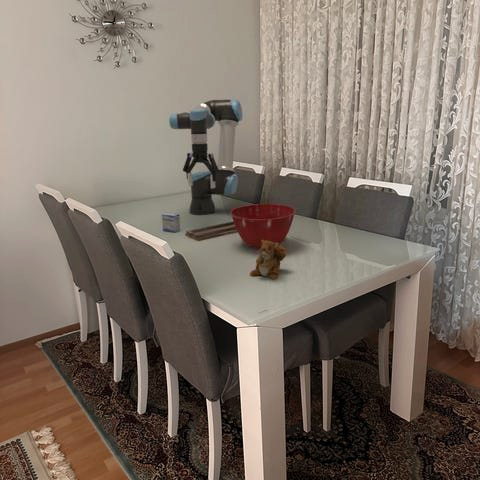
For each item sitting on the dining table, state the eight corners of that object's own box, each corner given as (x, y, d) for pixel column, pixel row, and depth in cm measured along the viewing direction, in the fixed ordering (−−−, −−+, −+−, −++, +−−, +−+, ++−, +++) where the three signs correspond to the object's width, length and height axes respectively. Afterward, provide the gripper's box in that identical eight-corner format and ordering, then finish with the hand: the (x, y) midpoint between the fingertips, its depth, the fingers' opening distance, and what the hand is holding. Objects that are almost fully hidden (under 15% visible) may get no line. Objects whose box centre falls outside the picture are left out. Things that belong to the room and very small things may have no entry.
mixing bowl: (241, 257, 187) (240, 221, 182) (224, 238, 213) (223, 206, 208) (305, 250, 194) (305, 215, 189) (281, 232, 220) (281, 201, 215)
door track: (185, 235, 219) (184, 230, 219) (235, 224, 236) (235, 219, 235) (198, 241, 210) (197, 235, 209) (249, 229, 227) (249, 224, 226)
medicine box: (162, 231, 228) (161, 214, 225) (167, 228, 232) (166, 212, 229) (175, 232, 224) (174, 215, 222) (180, 230, 228) (179, 213, 226)
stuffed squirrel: (248, 276, 167) (247, 242, 163) (267, 264, 178) (267, 232, 174) (271, 281, 161) (271, 246, 157) (290, 269, 172) (290, 236, 169)
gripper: (173, 143, 220) (176, 186, 227) (217, 144, 208) (218, 190, 214) (183, 141, 227) (185, 183, 233) (225, 142, 214) (227, 187, 220)
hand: (201, 187), depth 224 cm, fingers open, 13 cm apart
